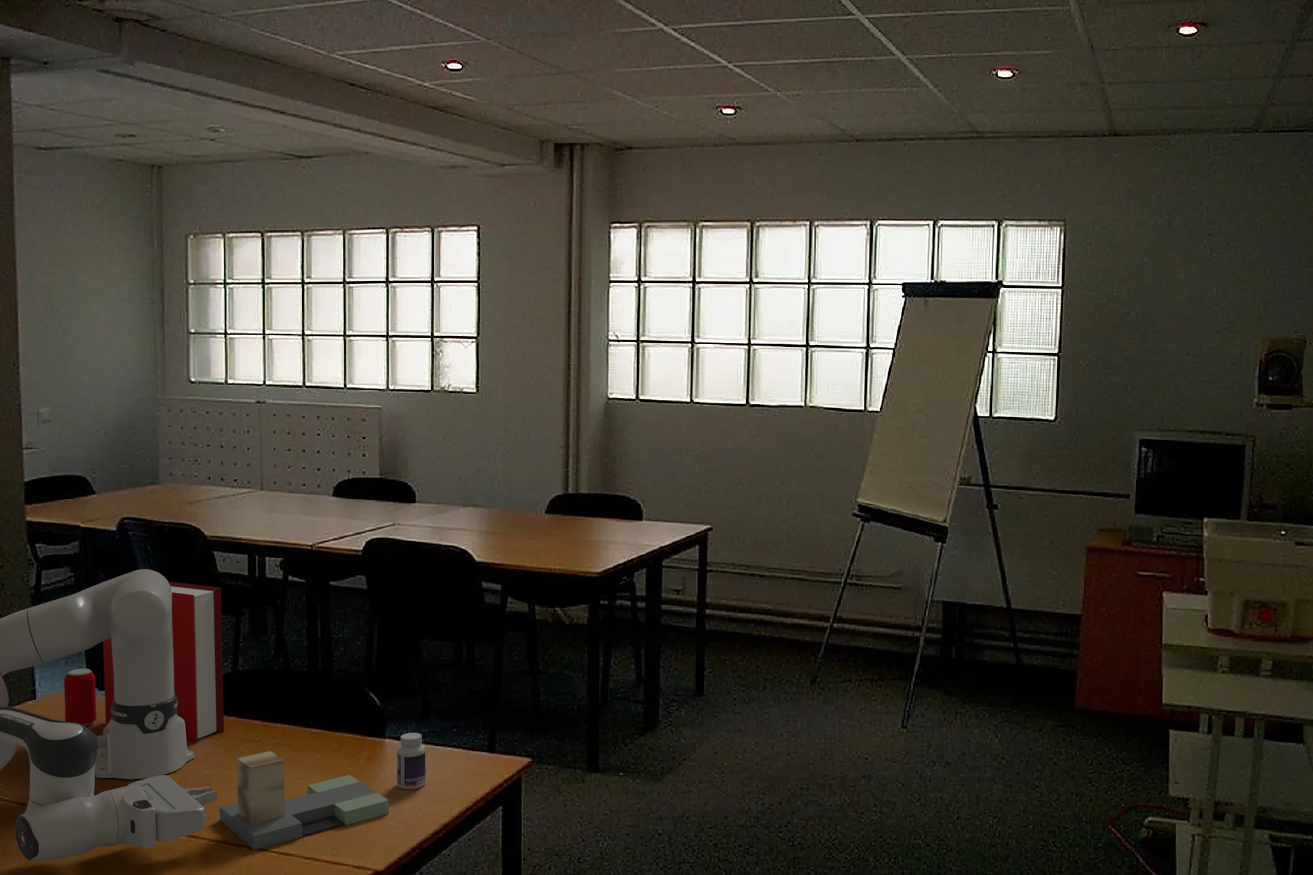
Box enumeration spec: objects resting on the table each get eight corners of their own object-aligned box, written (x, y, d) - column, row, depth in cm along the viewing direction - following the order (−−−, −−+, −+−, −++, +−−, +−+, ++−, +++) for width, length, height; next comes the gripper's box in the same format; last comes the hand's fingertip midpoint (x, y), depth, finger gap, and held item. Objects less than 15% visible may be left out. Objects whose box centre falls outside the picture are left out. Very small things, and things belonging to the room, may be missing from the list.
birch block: (238, 813, 212) (237, 758, 211) (271, 805, 216) (270, 750, 215) (251, 824, 207) (250, 767, 207) (284, 815, 211) (283, 760, 210)
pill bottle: (431, 782, 234) (431, 733, 233) (414, 792, 229) (414, 742, 228) (408, 778, 236) (408, 729, 236) (391, 787, 232) (391, 738, 231)
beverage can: (101, 724, 266) (99, 671, 265) (72, 730, 262) (70, 677, 261) (90, 718, 271) (88, 665, 270) (61, 724, 266) (59, 671, 265)
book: (223, 732, 262) (220, 587, 260) (196, 743, 255) (193, 594, 252) (129, 715, 273) (125, 576, 270) (101, 726, 265) (96, 583, 263)
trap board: (219, 820, 215) (219, 806, 215) (349, 787, 231) (349, 775, 231) (254, 850, 203) (253, 835, 203) (388, 813, 219) (388, 800, 219)
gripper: (111, 812, 205) (193, 793, 214) (149, 853, 190) (236, 830, 198) (110, 776, 205) (192, 758, 213) (147, 814, 189) (235, 793, 198)
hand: (214, 793), depth 206 cm, fingers closed
